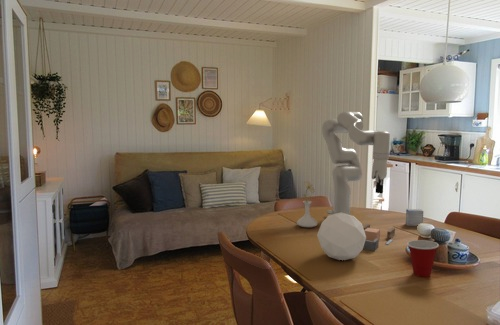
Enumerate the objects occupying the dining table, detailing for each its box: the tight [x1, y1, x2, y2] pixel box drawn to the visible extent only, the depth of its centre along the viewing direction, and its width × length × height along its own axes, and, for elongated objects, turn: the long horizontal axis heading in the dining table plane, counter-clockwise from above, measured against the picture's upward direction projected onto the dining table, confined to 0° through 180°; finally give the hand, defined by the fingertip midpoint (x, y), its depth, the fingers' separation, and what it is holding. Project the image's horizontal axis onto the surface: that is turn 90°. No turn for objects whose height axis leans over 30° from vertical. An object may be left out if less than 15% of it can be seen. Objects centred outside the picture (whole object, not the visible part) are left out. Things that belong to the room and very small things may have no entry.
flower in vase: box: [296, 180, 318, 228], centre depth 204 cm, size 13×11×25 cm
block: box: [364, 227, 381, 241], centre depth 180 cm, size 6×6×5 cm
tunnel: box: [363, 223, 396, 240], centre depth 188 cm, size 14×8×4 cm, turn 55°
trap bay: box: [363, 239, 380, 252], centre depth 170 cm, size 12×6×4 cm, turn 55°
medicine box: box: [405, 208, 425, 227], centre depth 205 cm, size 8×4×9 cm, turn 84°
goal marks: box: [385, 238, 394, 246], centre depth 181 cm, size 17×8×1 cm, turn 55°
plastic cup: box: [406, 239, 440, 278], centre depth 139 cm, size 11×11×12 cm
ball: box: [316, 212, 366, 262], centre depth 155 cm, size 19×20×20 cm
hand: (379, 192), depth 187 cm, fingers closed
